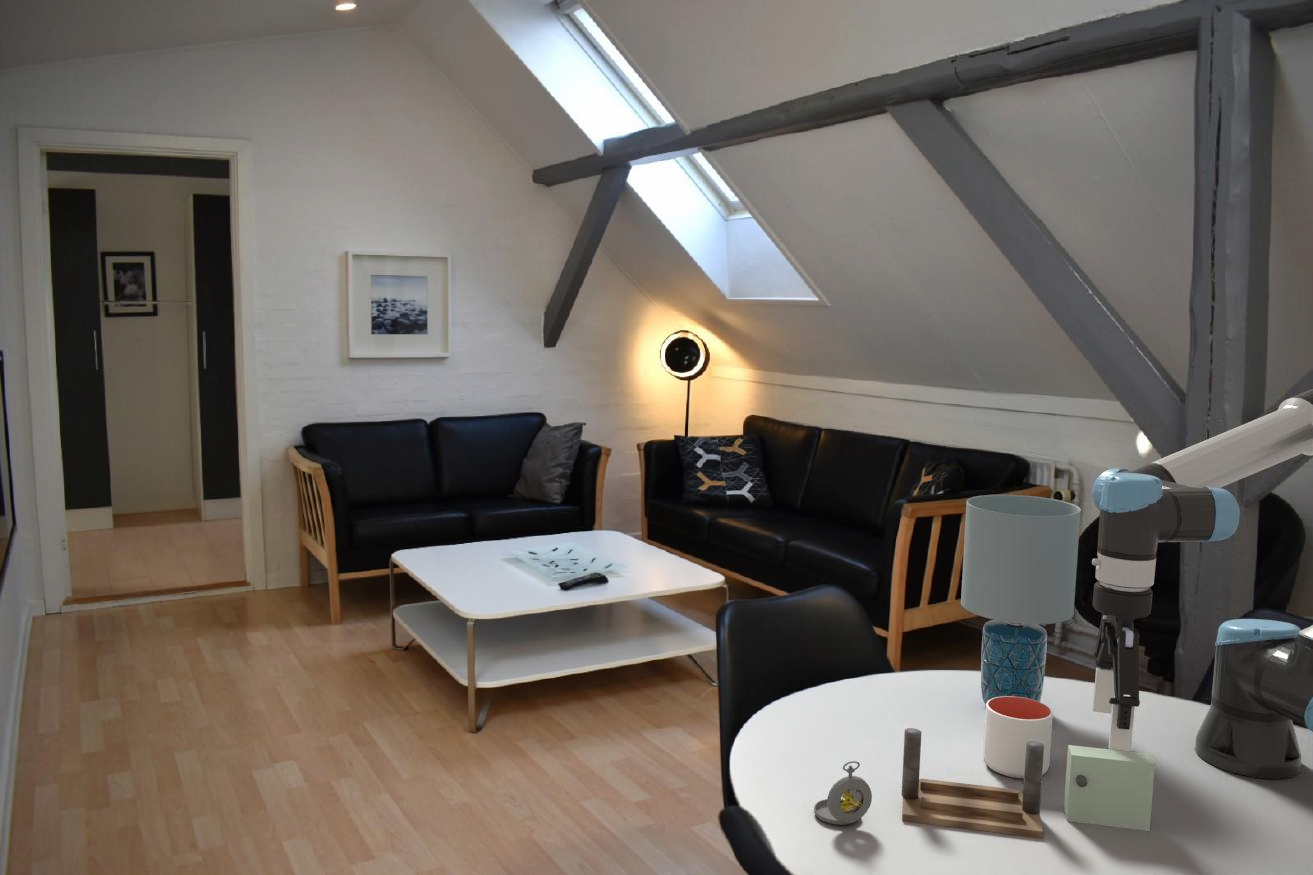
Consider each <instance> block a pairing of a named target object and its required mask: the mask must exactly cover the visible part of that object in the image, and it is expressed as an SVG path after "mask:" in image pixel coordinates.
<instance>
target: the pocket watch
mask: <svg viewBox="0 0 1313 875" xmlns="http://www.w3.org/2000/svg"><path fill="white" fill-rule="evenodd" d="M849 764H857V766H856V767H855V768H854V766H852V765H849ZM860 764H861V763H860V762H858V761H856V760H855V761H854V760H853V761H848V762H846V763H844V765H843V766H842V770H843V771H846V772H847V774H848V776H844V777H842V778H840V779H839V780H838V781H836V782H835V783H834V784H833V785H832V787H831V788H830V789H829V792H828V795H827V798H826V799H822V800H819V801H817V802H816V803H815V804H814V806H813V813H814V815H815V816H816V817H817V818H818V819H820V820H821V821H822V822H823V821H824V822H826V823H827V824H831V825H837V826H838V825H841V826H842V825H850V824H854V823H855V822H857V821H859V820H860V819H862V818H863V817H864V816H865V815H866V813H868V810H869V809H870V808H871V804H872V799H873V793H872V790H871V788H870V786H869V783H867V781H866V780H865V779H863V778H862V777H861V776H857V775H853V773H855V771H856V770H857V769H858V768H859V767H860V766H861V765H860ZM848 765H849V766H848ZM847 766H848V768H847V769H846V768H845V767H847Z"/></svg>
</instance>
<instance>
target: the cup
mask: <svg viewBox="0 0 1313 875" xmlns="http://www.w3.org/2000/svg"><path fill="white" fill-rule="evenodd" d="M1053 716H1054V713H1053V710H1052V708H1051V707H1049V706H1048V705H1046V704H1045V703H1043V702H1041V701H1040V702H1038V701H1035V700H1032V699H1028V698H1023V697H1014V696H1002V697H996V698H992V699H990V700H989V701H988V702H987V703H986V704H985V717H984V720H985V721H984V736H983V737H984V738H983V751H982V752H983V753H982V754H983V755H982V756H983V761H984V763H985V764H986V766H987V767H988V768H990V769H991V770H992V771H994V772H996V773H998V774H1000V775H1002V776H1006V777H1009V778H1015V779H1023V780H1024V771H1025V756H1026V743H1027V742H1028V741H1037V742H1040V743H1042V744H1043V745H1044V754H1043V769H1042V776H1043V775H1044V774H1046V773H1047V771H1048V770H1049V768H1050V760H1051V744H1052V732H1053V731H1052V730H1053Z"/></svg>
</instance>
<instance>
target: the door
mask: <svg viewBox="0 0 1313 875" xmlns="http://www.w3.org/2000/svg"><path fill="white" fill-rule="evenodd" d="M1066 754H1067V756H1066V771H1065V782H1064V783H1065V785H1064V798H1063V799H1064V800H1063V813H1064V815H1065V819H1066V821H1067V822H1073V823H1080V824H1081V823H1082V824H1090V825H1097V826H1098V825H1099V826H1107V827H1113V828H1114V827H1115V828H1123V829H1131V830H1139V831H1145V832H1146V831H1147V832H1150V828H1151V818H1152V817H1151V815H1152V803H1153V793H1154V791H1153V790H1154V781H1155V780H1154V779H1155V771H1156V770H1155V769H1156V763H1155V761H1154V759H1153V757H1152V755H1151V753H1148V752H1147V753H1146V752H1138V751H1135V752H1134V751H1124V750H1115V749H1109V748H1100V747H1091V746H1081V745H1072V744H1067V753H1066Z"/></svg>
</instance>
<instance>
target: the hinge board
mask: <svg viewBox="0 0 1313 875" xmlns="http://www.w3.org/2000/svg"><path fill="white" fill-rule="evenodd" d="M903 736H904V738H903V739H904V740H903V756H902V757H903V758H902V776H901V777H902V780H901V782H902V783H901V796H902V807H901V809H902V815H901V816H902V817H901V821H902V822H909V823H910V822H911V823H917V824H918V823H919V824H928V825H934V826H942V827H951V828H958V829H965V830H974V831H975V830H976V831H982V832H991V833H998V834H1006V835H1012V836H1013V835H1015V836H1022V837H1031V838H1037V839H1043V836H1044V834H1043V833H1044V831H1043V826H1042V822H1041V817H1040V811H1041V798H1042V797H1041V796H1042V795H1041V794H1042V783H1043V782H1042V780H1043V775H1042V769H1043V754H1044V745H1043V744H1042V743H1040V742H1037V741H1028V742H1027V743H1026V756H1025V771H1024V779H1023V788H1022V790H1023V791H1022V790H1018V789H1013V788H1007V787H1006V788H1005V787H998V786H989V785H979V784H973V783H972V784H971V783H964V782H963V783H962V782H954V781H946V780H938V779H937V780H935V779H928V778H920V767H921V766H920V765H921V751H922V750H921V746H922V730H920V729H918V728H913V727H910V728H905V729H904V735H903Z"/></svg>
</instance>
